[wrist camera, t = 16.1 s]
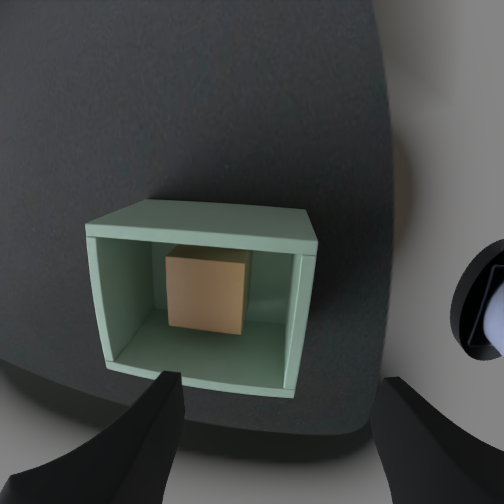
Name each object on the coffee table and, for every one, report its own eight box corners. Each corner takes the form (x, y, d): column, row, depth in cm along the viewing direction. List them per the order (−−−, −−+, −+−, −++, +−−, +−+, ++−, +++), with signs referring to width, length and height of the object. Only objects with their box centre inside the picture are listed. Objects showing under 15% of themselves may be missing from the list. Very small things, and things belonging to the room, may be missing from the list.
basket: (145, 198, 19) (84, 223, 13) (306, 209, 19) (318, 241, 12) (152, 330, 22) (112, 389, 16) (289, 346, 22) (289, 419, 15)
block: (253, 240, 19) (245, 263, 15) (249, 301, 20) (241, 335, 16) (187, 235, 19) (165, 256, 15) (188, 295, 20) (168, 325, 17)
